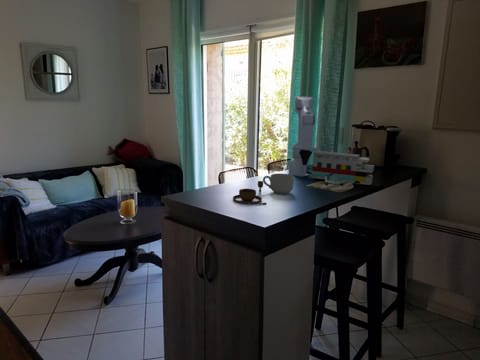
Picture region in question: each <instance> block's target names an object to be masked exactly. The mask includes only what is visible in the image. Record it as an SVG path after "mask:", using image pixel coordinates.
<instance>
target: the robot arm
mask: <svg viewBox="0 0 480 360" xmlns="http://www.w3.org/2000/svg"><path fill="white" fill-rule="evenodd" d="M313 106H314V97H313V96H298V95H297V96H295V98H294V112H295V113H296V114H297V116H298V125H297V126H298V127H297V142H296V143H294V144H293V145H292V150H291V159H290V161H289V165H288V173H287V174H289V175H292V176H294V177H295V176H296V177H301V178H302V177H306V176H309V175H310V174H309V173H307V166H308V161H309V160H310V157H312V156H311V155H313V152H317V153H318V152H320V151H321V148H320V147H319V148H318V147H313V136H314V135H313V134H314V126H315V123H316V114H315V113H314V112H313V108H314V107H313Z"/></svg>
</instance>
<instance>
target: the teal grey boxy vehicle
mask: <svg viewBox="0 0 480 360" xmlns="http://www.w3.org/2000/svg"><path fill="white" fill-rule="evenodd" d="M324 182H325V185H328V184H329V183H331V184H334V185H338V184H340V185H341V186H343V185H344V181H343V180H342V176H338V175H333V173H331V174H326V175H325V179H324ZM338 186H339V185H338Z"/></svg>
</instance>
